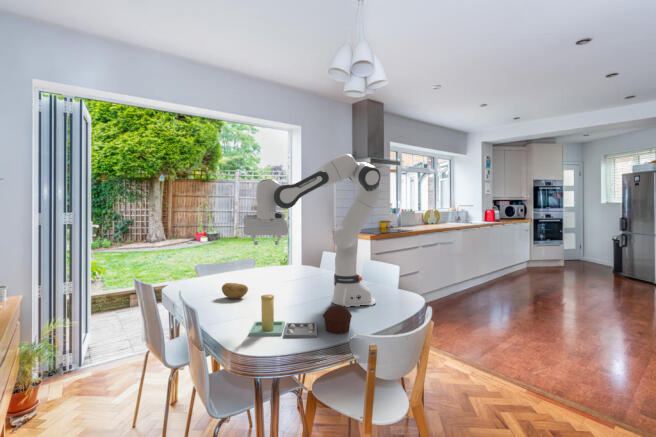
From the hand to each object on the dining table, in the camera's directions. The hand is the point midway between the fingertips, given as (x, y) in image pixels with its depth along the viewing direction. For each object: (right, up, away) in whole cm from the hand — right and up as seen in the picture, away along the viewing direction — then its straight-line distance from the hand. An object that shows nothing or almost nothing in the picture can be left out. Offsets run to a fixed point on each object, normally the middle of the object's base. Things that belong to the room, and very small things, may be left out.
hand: (266, 244), depth 148 cm
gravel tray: (+18, -32, -24) cm, 44 cm away
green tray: (+5, -32, -23) cm, 39 cm away
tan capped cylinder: (+5, -31, -23) cm, 39 cm away
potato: (-21, -30, +23) cm, 44 cm away
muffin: (+32, -32, -23) cm, 51 cm away
